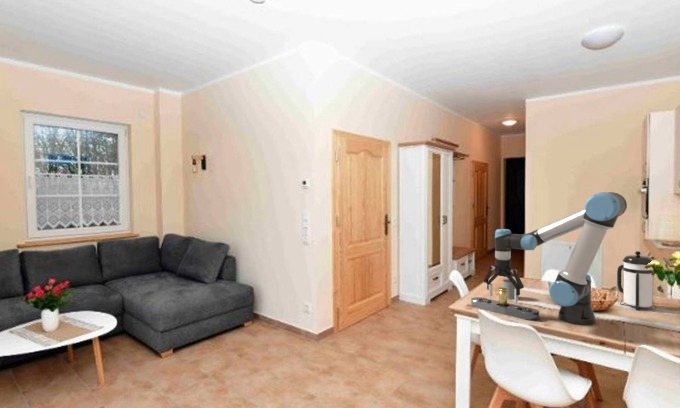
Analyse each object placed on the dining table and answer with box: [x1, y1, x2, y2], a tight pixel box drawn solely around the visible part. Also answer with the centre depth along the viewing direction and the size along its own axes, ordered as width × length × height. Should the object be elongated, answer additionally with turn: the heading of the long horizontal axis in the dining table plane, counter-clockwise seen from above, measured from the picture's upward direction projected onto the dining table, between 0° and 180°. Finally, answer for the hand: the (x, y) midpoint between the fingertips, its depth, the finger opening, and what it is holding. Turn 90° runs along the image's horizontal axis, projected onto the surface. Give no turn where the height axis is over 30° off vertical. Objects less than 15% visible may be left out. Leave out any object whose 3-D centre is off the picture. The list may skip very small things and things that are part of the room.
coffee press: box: [616, 250, 657, 311], centre depth 195 cm, size 17×16×30 cm
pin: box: [498, 287, 508, 307], centre depth 191 cm, size 5×5×12 cm
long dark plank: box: [470, 296, 540, 322], centre depth 191 cm, size 35×9×4 cm, turn 41°
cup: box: [502, 278, 517, 301], centre depth 215 cm, size 8×8×10 cm
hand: (503, 298), depth 191 cm, fingers open, 13 cm apart
